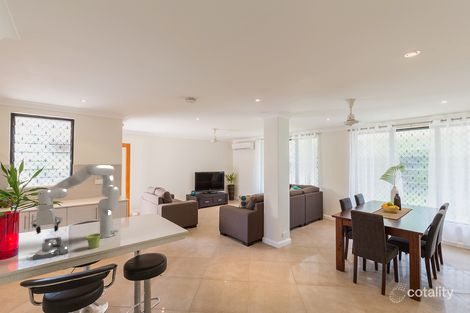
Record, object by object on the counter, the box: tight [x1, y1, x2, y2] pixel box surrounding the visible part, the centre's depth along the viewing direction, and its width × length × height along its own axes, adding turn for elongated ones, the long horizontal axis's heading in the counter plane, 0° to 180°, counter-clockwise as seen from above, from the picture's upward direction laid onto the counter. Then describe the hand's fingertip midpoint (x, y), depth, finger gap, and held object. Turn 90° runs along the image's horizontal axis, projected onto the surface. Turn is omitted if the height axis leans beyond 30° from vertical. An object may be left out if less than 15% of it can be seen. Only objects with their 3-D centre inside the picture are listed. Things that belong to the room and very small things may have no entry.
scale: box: [32, 236, 64, 261], centre depth 149 cm, size 16×11×8 cm
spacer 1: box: [41, 241, 52, 252], centre depth 147 cm, size 5×5×5 cm
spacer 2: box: [58, 244, 69, 256], centre depth 149 cm, size 5×5×5 cm
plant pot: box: [85, 232, 101, 250], centre depth 159 cm, size 9×9×9 cm
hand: (47, 232), depth 147 cm, fingers open, 9 cm apart
